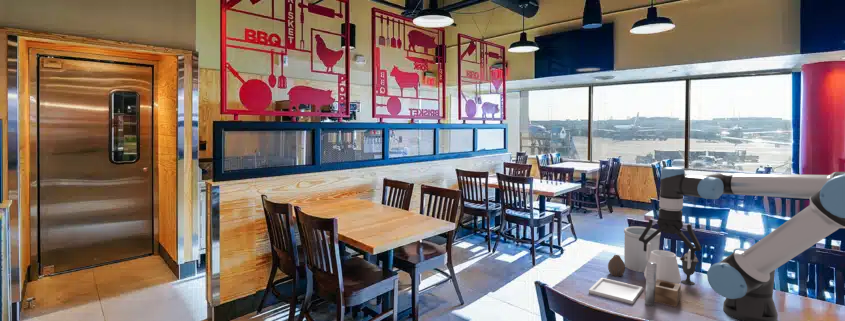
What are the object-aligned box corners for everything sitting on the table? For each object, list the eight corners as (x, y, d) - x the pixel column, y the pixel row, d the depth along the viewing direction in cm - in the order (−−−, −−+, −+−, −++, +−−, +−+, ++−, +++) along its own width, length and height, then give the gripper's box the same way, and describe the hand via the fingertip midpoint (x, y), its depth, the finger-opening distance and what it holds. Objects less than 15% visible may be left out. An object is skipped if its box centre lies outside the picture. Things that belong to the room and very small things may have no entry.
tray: (642, 290, 169) (642, 286, 168) (632, 304, 156) (632, 300, 156) (601, 280, 179) (601, 277, 179) (588, 293, 167) (588, 289, 166)
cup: (636, 283, 176) (637, 251, 174) (656, 277, 182) (658, 246, 180) (667, 295, 164) (669, 261, 162) (687, 288, 170) (689, 255, 169)
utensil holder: (645, 275, 184) (647, 237, 182) (615, 265, 197) (617, 229, 195) (665, 269, 191) (667, 232, 189) (635, 259, 204) (637, 224, 202)
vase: (604, 273, 187) (604, 254, 186) (615, 270, 190) (615, 252, 189) (617, 278, 181) (617, 259, 180) (628, 276, 184) (629, 256, 183)
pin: (655, 304, 156) (657, 263, 155) (653, 307, 154) (655, 265, 152) (645, 301, 158) (647, 261, 157) (643, 304, 156) (646, 263, 154)
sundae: (701, 284, 174) (703, 249, 172) (690, 287, 171) (692, 251, 170) (686, 278, 180) (688, 245, 178) (675, 281, 177) (677, 247, 176)
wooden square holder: (679, 299, 160) (680, 284, 160) (676, 306, 154) (677, 291, 153) (656, 293, 165) (657, 279, 165) (652, 300, 159) (652, 285, 159)
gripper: (712, 211, 151) (708, 268, 153) (636, 202, 167) (634, 254, 169) (709, 215, 145) (706, 274, 147) (631, 206, 161) (629, 259, 163)
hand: (667, 263), depth 158 cm, fingers open, 13 cm apart
